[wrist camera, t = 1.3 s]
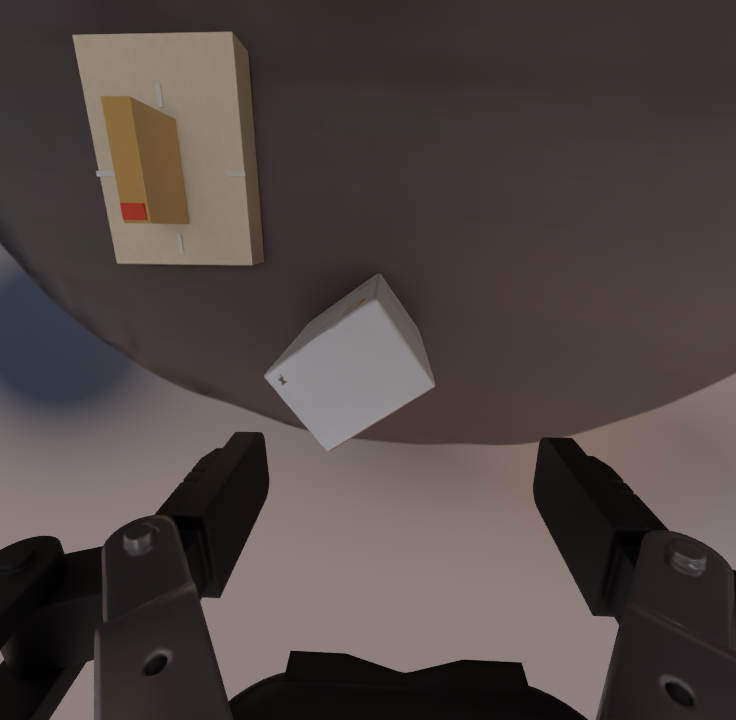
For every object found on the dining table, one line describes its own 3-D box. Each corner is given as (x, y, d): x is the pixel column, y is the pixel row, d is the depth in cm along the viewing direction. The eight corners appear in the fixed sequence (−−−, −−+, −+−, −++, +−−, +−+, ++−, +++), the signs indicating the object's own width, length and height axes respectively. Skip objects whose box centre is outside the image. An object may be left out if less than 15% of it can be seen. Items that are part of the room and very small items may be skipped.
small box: (348, 378, 36) (325, 456, 24) (306, 323, 34) (258, 376, 22) (421, 330, 34) (438, 387, 22) (380, 270, 33) (373, 295, 20)
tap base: (102, 53, 29) (68, 33, 26) (249, 51, 28) (232, 29, 25) (139, 260, 34) (114, 263, 31) (265, 262, 33) (253, 265, 30)
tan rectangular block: (150, 119, 27) (96, 94, 22) (175, 118, 27) (127, 94, 22) (166, 224, 30) (121, 223, 25) (189, 224, 29) (148, 223, 24)
